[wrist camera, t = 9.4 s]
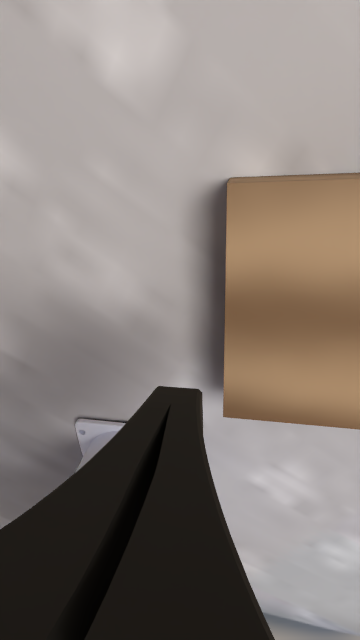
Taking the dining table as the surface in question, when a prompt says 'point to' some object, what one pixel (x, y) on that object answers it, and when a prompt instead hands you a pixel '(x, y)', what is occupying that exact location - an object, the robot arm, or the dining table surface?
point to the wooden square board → (293, 299)
